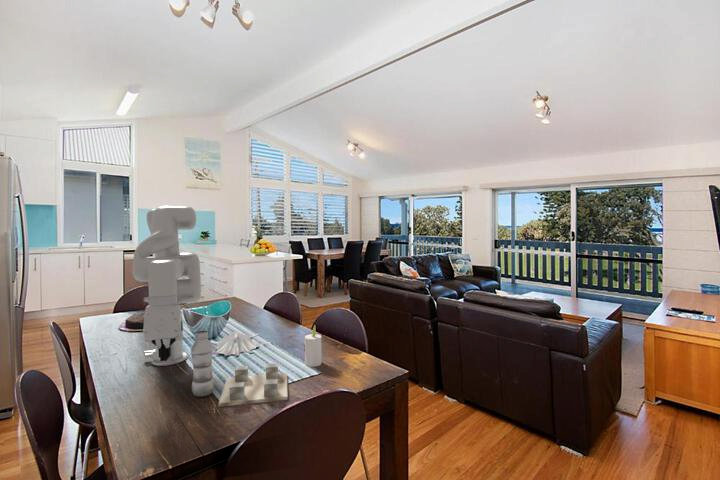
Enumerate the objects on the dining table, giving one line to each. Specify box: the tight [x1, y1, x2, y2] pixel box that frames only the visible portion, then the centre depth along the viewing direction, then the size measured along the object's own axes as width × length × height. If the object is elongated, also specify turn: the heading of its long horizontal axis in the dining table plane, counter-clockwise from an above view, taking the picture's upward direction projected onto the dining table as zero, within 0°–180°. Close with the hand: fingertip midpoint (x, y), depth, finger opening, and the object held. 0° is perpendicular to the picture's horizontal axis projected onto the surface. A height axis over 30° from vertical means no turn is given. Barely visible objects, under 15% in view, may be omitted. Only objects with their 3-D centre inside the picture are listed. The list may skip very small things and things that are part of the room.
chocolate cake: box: [118, 311, 145, 332], centre depth 192 cm, size 28×28×7 cm
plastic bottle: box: [190, 329, 215, 398], centre depth 114 cm, size 6×7×20 cm
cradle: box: [217, 363, 289, 408], centre depth 118 cm, size 20×18×5 cm
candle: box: [303, 324, 322, 368], centre depth 139 cm, size 6×6×15 cm
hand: (164, 359), depth 111 cm, fingers closed
